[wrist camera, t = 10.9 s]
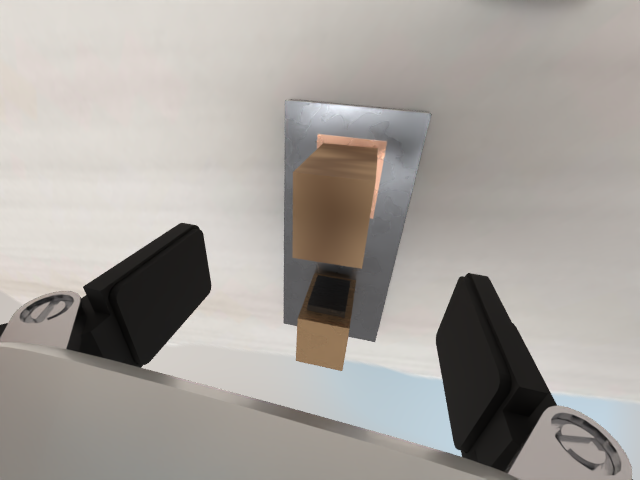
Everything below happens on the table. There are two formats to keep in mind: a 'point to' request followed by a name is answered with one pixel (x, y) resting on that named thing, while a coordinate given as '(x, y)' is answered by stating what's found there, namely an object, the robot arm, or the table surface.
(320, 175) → the brown rectangular block
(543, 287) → the table surface
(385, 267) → the gray base with block
